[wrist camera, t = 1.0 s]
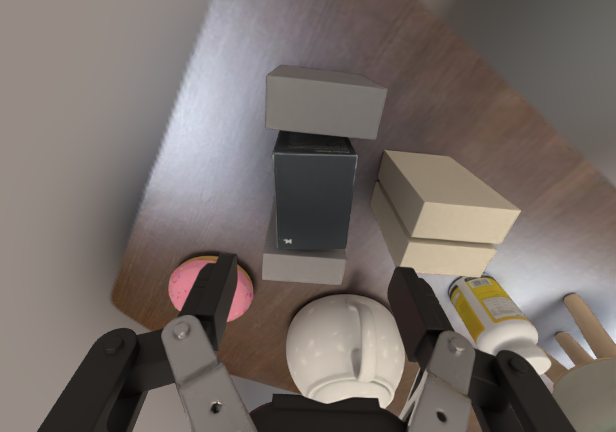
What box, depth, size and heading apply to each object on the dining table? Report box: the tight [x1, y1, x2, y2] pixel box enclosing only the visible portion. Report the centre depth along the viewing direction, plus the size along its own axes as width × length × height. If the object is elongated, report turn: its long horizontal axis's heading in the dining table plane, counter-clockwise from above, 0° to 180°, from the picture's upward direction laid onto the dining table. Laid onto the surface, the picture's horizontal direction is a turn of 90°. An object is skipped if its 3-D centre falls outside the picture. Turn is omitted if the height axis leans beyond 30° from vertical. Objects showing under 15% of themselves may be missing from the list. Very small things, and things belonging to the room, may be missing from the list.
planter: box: [535, 294, 616, 432], centre depth 33 cm, size 16×16×22 cm
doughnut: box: [168, 256, 253, 322], centre depth 35 cm, size 11×11×4 cm
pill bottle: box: [449, 274, 551, 375], centre depth 33 cm, size 6×6×12 cm
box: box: [272, 130, 358, 249], centre depth 23 cm, size 8×6×11 cm
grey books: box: [262, 65, 388, 285], centre depth 24 cm, size 16×7×10 cm, turn 174°
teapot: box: [286, 294, 405, 409], centre depth 37 cm, size 19×18×14 cm
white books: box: [370, 150, 521, 278], centre depth 25 cm, size 6×7×11 cm
